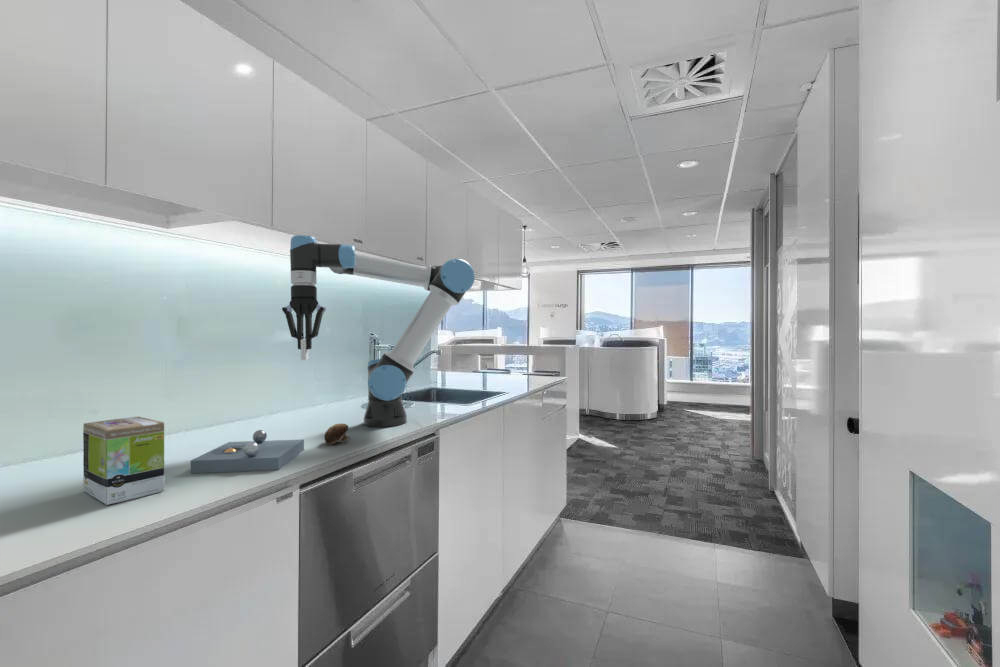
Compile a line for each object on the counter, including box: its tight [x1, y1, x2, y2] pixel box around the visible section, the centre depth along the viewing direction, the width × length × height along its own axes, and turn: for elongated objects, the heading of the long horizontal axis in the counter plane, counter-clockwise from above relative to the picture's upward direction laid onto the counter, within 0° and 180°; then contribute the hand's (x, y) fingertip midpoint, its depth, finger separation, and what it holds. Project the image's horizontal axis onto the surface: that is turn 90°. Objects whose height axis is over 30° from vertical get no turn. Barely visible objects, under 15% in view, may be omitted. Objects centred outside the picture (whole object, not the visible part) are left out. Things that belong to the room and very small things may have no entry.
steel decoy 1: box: [244, 442, 260, 457], centre depth 109 cm, size 3×3×3 cm
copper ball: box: [224, 448, 237, 452], centre depth 115 cm, size 3×3×3 cm
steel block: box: [252, 429, 268, 443], centre depth 123 cm, size 3×3×3 cm
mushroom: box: [323, 423, 350, 445], centre depth 133 cm, size 8×8×6 cm
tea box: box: [82, 416, 166, 506], centre depth 94 cm, size 15×10×15 cm, turn 56°
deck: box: [189, 439, 305, 474], centre depth 116 cm, size 20×18×3 cm
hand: (304, 359), depth 142 cm, fingers closed
